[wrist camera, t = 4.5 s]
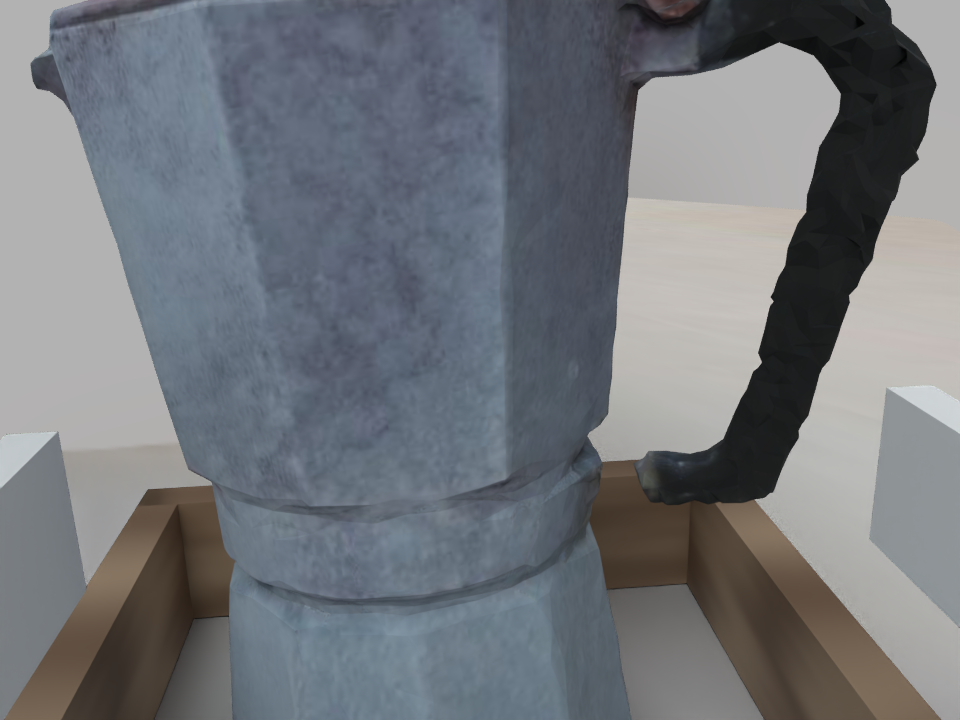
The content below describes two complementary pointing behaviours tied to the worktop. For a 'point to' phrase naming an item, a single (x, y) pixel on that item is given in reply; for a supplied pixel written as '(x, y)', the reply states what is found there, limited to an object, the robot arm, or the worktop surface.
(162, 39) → the moka pot
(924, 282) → the worktop surface
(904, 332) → the worktop surface
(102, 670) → the frame
